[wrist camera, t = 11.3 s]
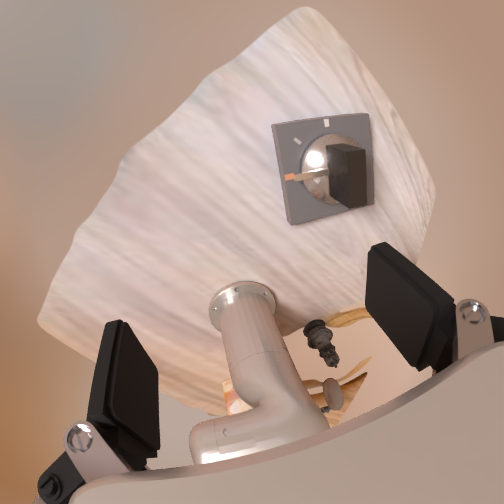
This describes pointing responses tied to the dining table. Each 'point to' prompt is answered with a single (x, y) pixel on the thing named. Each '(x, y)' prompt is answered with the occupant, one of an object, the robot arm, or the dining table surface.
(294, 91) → the dining table surface
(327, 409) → the blueberries
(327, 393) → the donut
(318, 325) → the dark grey chess piece
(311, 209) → the dial plate
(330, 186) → the dial
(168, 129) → the dining table surface
